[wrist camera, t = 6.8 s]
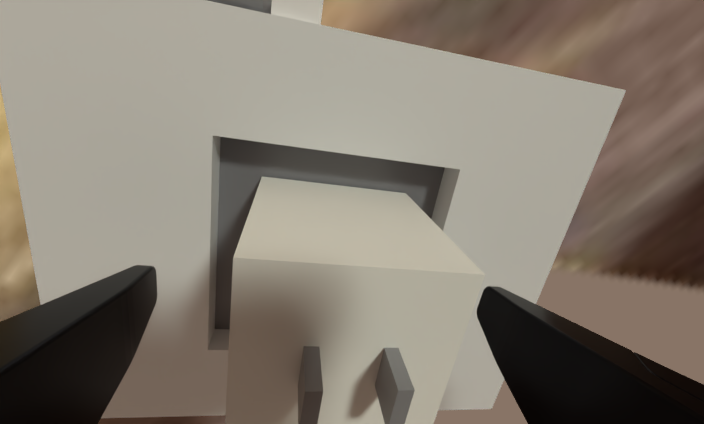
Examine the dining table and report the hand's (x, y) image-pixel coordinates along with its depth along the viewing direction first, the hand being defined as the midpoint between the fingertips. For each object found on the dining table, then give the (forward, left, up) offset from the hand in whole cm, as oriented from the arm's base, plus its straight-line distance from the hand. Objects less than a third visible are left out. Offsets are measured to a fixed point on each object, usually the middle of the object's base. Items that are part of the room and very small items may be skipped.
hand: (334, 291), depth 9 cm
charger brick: (0, 0, -2) cm, 2 cm away
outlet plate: (0, 0, -3) cm, 3 cm away
